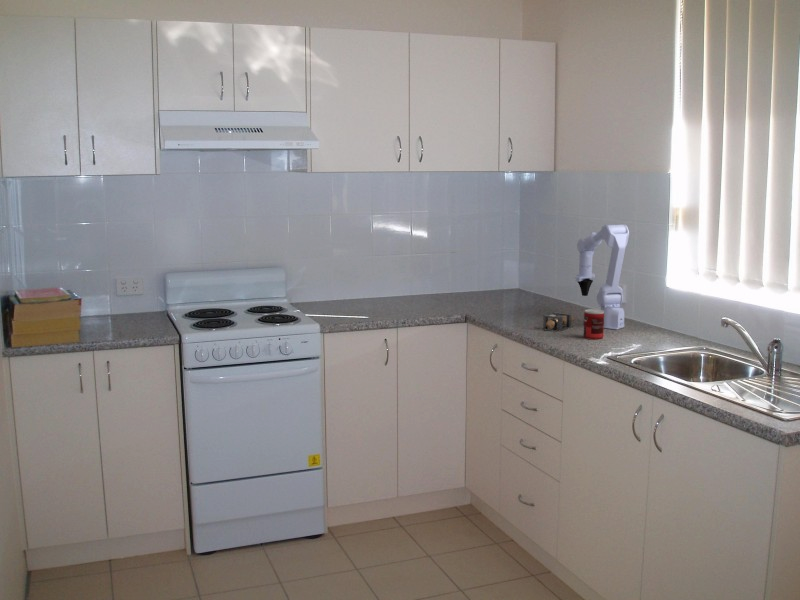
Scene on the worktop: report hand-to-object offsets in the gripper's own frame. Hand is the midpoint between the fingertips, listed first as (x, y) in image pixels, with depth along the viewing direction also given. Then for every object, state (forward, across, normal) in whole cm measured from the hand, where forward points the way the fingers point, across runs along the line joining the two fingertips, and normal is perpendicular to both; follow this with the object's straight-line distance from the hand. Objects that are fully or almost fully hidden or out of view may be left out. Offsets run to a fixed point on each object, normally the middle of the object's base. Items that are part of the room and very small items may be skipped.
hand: (584, 295), depth 373 cm
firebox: (+10, +28, +2) cm, 30 cm away
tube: (+10, +25, +2) cm, 28 cm away
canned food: (+11, +36, +23) cm, 44 cm away
